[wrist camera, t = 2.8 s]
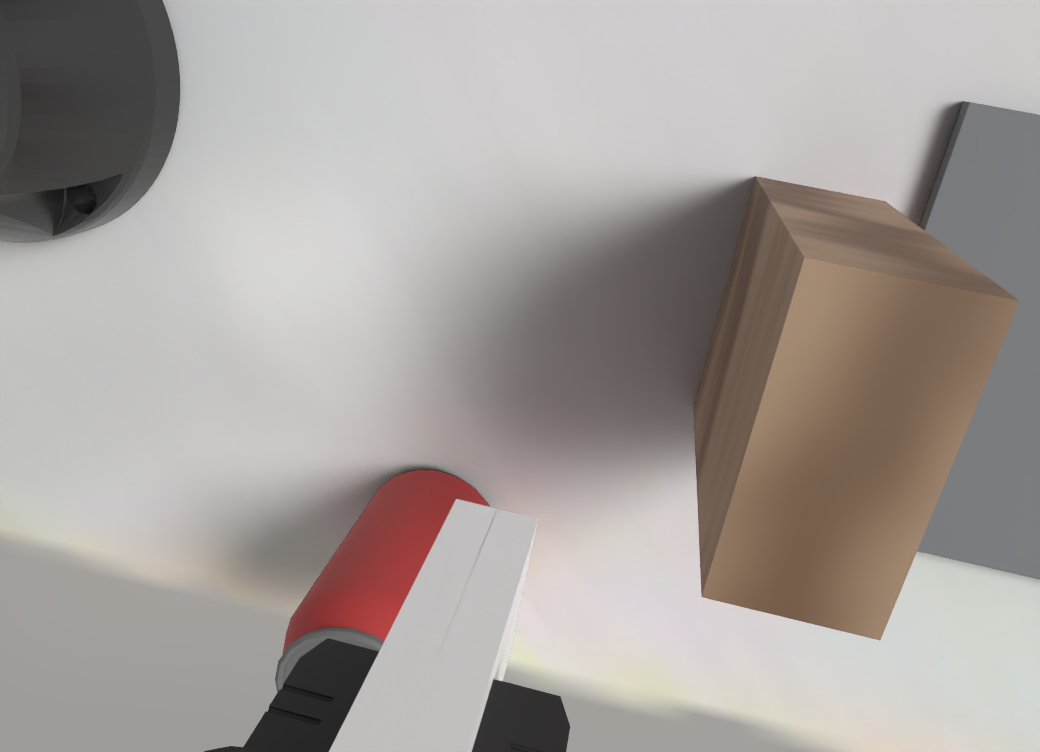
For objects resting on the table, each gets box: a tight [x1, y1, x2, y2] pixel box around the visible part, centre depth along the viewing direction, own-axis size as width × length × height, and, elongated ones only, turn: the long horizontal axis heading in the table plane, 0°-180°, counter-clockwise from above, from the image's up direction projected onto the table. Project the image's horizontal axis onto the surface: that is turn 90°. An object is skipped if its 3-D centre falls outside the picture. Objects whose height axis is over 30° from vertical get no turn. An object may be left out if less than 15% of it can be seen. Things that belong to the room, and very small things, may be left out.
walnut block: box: [693, 176, 1020, 640], centre depth 28 cm, size 5×10×14 cm, turn 171°
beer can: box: [275, 470, 490, 692], centre depth 36 cm, size 7×7×12 cm
